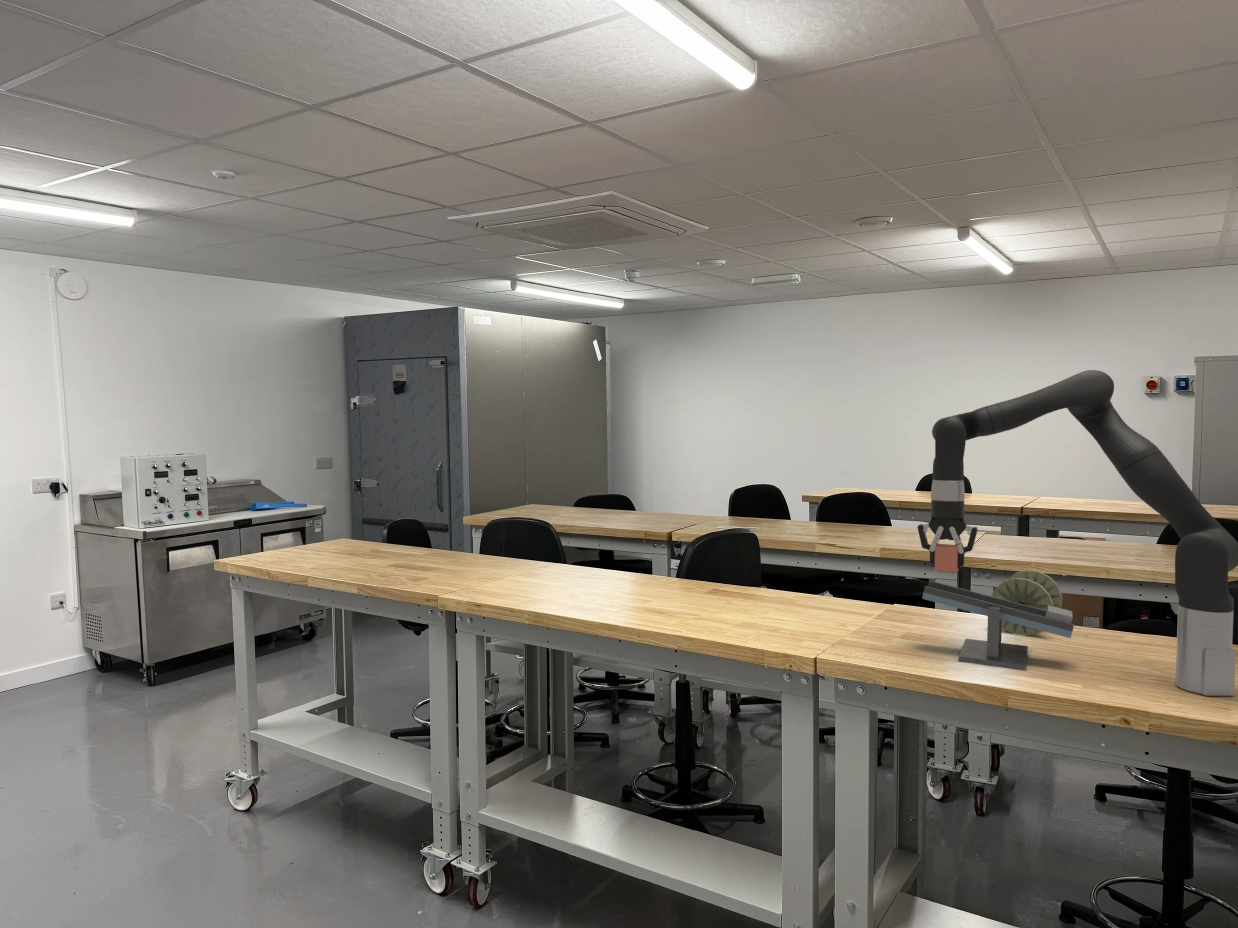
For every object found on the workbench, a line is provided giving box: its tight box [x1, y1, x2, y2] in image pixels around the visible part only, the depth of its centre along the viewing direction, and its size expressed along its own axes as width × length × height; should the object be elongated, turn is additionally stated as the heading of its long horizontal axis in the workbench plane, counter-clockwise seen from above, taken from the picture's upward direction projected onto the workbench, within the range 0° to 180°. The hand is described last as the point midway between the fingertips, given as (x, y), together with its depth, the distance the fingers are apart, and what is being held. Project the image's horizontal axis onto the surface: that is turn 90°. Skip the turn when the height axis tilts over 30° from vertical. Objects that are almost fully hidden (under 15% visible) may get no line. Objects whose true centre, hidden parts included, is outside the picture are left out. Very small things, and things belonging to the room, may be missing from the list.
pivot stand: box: [958, 597, 1029, 671], centre depth 185 cm, size 14×18×13 cm
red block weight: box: [934, 543, 959, 573], centre depth 190 cm, size 5×5×6 cm
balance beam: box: [921, 580, 1075, 639], centre depth 185 cm, size 32×11×5 cm, turn 61°
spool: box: [990, 569, 1063, 637], centre depth 212 cm, size 16×15×15 cm
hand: (946, 567), depth 190 cm, fingers closed on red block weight, 5 cm apart
